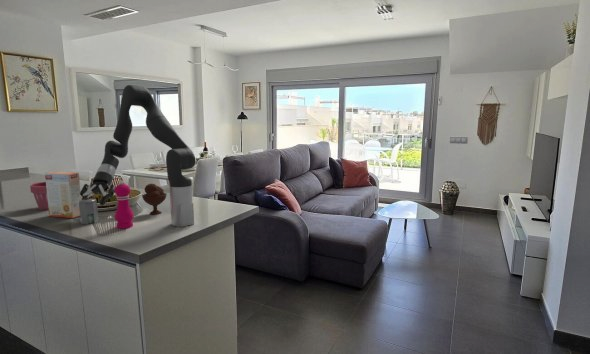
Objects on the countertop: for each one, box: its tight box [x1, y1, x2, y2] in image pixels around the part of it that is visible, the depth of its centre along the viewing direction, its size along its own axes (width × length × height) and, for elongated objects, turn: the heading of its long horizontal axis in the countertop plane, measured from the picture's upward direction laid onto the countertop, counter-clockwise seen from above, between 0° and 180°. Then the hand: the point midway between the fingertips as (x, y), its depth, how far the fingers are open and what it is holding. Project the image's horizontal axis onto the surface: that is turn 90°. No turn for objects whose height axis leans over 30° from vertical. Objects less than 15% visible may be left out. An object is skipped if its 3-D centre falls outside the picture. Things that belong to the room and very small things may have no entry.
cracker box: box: [44, 171, 82, 219], centre depth 160 cm, size 14×6×21 cm, turn 74°
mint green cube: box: [88, 214, 95, 224], centre depth 152 cm, size 4×4×4 cm
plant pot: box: [29, 181, 49, 211], centre depth 176 cm, size 14×14×13 cm
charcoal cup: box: [79, 198, 99, 225], centre depth 151 cm, size 6×6×10 cm
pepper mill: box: [114, 180, 135, 230], centre depth 145 cm, size 7×7×20 cm
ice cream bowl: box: [141, 183, 168, 216], centre depth 166 cm, size 11×11×15 cm
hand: (92, 204), depth 154 cm, fingers open, 8 cm apart
